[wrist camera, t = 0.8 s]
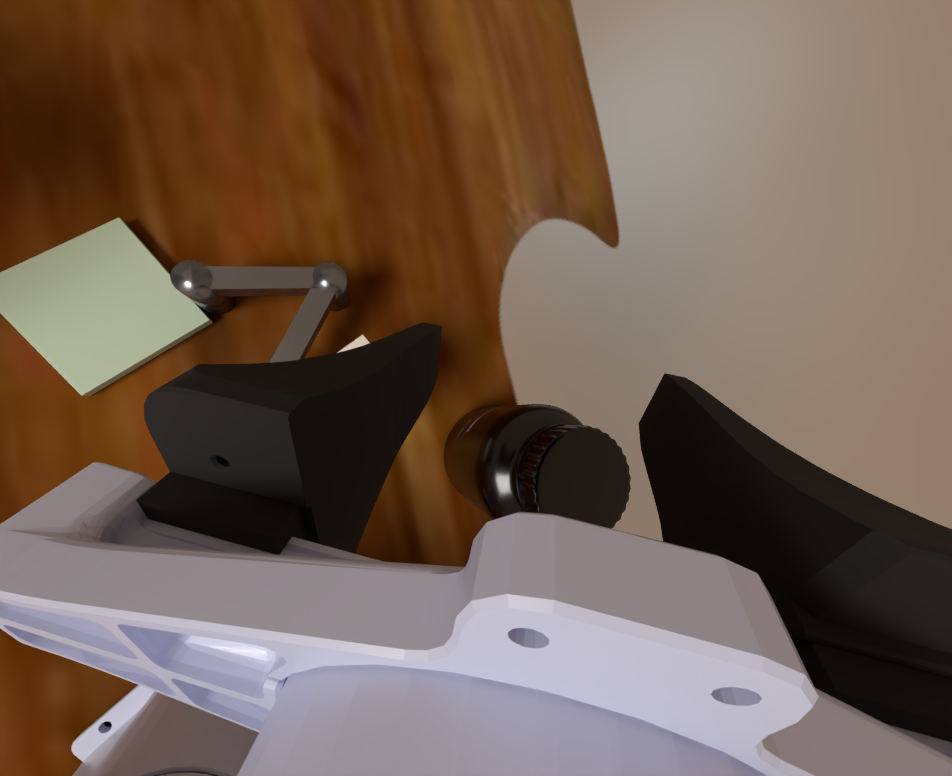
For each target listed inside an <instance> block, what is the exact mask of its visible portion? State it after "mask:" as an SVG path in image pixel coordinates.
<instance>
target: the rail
mask: <svg viewBox="0 0 952 776" xmlns="http://www.w3.org/2000/svg"><path fill="white" fill-rule="evenodd" d="M170 279H171V282H172V284H173V286H174V287H175V288H176V289H177V290H178V291H180V292H181V293H182V294H184V295H185V296H186V297H188V298H189V299H191V300H192V301H193V302H195V303H196V304H197V305H199V306H200V307H202V308H203V309H204V310H206V311H207V312H209V313H212V314H224V313H227V312H228V311H230V310H231V309H232V308H233V306H234V303H235V298H234V296H293V295H307V296H306V298H305V299H304V301H303V303H302V305H301V307H300V308H299V310H298V312H297V314H296V316H295V317H294V319H293V321H292V323H291V325H290V326H289V328H288V330H287V332H286V334H285V335H284V337H283V339H282V341H281V343H280V344H279V346H278V348H277V350H276V352H275V353H274V355H273V357H272V359H271V361H270V362H269V363H273V362H284V361H293V360H300V359H304V358H305V357H306V355H307V353H308V351H309V349H310V347H311V345H312V344H313V342H314V340H315V338H316V336H317V334H318V332H319V330H320V329H321V327H322V325H323V323H324V321H325V319H326V317H327V315H328V314H329V312H330V310H332V311H338V310H341V309H343V308H344V307H345V306H346V305H347V302H348V286H347V275H346V272H345V271H344V269H343V268H342V267H341V266H339V265H338V264H336V263H333V262H324V263H321V264H319V265H318V266H317V267H239V266H206V265H204V264H202V263H200V262H198V261H192V260H189V261H183V262H180V263H178V264H177V265H176V266H174V268H173V269H172V271H171V274H170Z"/></svg>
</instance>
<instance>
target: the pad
mask: <svg viewBox="0 0 952 776" xmlns="http://www.w3.org/2000/svg"><path fill="white" fill-rule="evenodd" d="M0 313H1V314H2V315H3V316H4V317H5V318H6V319H7V320H8V321H9V322H10V323H11V324H12V325H13V326H14V328H15V329H16V330H17V331H18V332H19V333H20V334H21V335H22V336H23V337H24V338H25V339H26V340H27V341H28V342H29V343H30V344H31V345H32V346H33V347H34V348H35V349H36V350H37V351H38V352H39V353H40V354H41V355H42V356H43V357H44V358H45V359H46V360H47V361H48V362H49V363H50V364H51V365H52V366H53V367H54V368H55V369H56V370H57V371H58V372H59V373H60V374H61V375H62V376H63V377H64V378H65V379H66V380H67V381H68V382H69V383H70V385H71V386H72V387H73V388H74V389H75V390H76V391H77V392H78V393H79V394H80V395H81V396H91V395H93V394H95V393H96V392H98V391H100V390H101V389H103V388H105V387H106V386H108V385H110V384H111V383H113V382H115V381H116V380H118V379H120V378H121V377H123V376H125V375H126V374H128V373H130V372H131V371H133V370H135V369H136V368H138V367H140V366H141V365H143V364H145V363H146V362H148V361H150V360H151V359H153V358H155V357H156V356H158V355H160V354H162V353H163V352H165V351H167V350H168V349H170V348H172V347H173V346H175V345H177V344H178V343H180V342H182V341H183V340H185V339H187V338H188V337H190V336H192V335H193V334H195V333H197V332H198V331H200V330H202V329H203V328H205V327H207V326H208V325H210V324H212V323H213V322H212V320H211V319H210V318H209V317H208V316H207V315H206V314H205V313H204V311H203V310H202V309H201V308H200V307H199V306H198V305H197V304H196V303H195V302H193V301H192V300H191V299H189V298H188V297H186V296H185V295H184V294H182V293H181V292H180V291H178V290H177V289H176V288H175V287H174V286H173V284H172V282H171V279H170V273H169V272H168V271H167V270H166V268H165V267H164V266H163V265H162V264H161V263H160V262H159V261H158V259H157V258H156V257H155V256H154V255H153V254H152V253H151V251H150V250H149V249H148V248H147V247H146V246H145V245H144V244H143V242H142V241H141V240H140V239H139V238H138V237H137V236H136V235H135V233H134V232H133V231H132V230H131V229H130V228H129V227H128V225H127V224H126V223H125V222H124V221H122V220H121V219H120V218H117V219H114V220H112V221H110V222H108V223H106V224H104V225H102V226H99V227H97V228H95V229H93V230H91V231H89V232H86V233H84V234H82V235H80V236H78V237H76V238H74V239H71V240H69V241H67V242H65V243H63V244H61V245H58V246H56V247H54V248H52V249H50V250H48V251H46V252H43V253H41V254H39V255H37V256H35V257H33V258H30V259H28V260H26V261H24V262H22V263H20V264H18V265H15V266H13V267H11V268H9V269H7V270H5V271H2V272H0Z"/></svg>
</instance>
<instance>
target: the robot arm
mask: <svg viewBox="0 0 952 776" xmlns="http://www.w3.org/2000/svg"><path fill="white" fill-rule="evenodd" d="M441 329H442V326H438V325H433V324H428V323H421V324H418V325H415V326H412V327H410V328H407V329H405V330H403V331H400V332H398V333H395V334H393V335H390V336H388V337H386V338H383V339H380V340H377V341H374V342H372V343H369V344H366V345H363V346H360V347H357V348H354V349H350V350H346V351H342V352H338V353H334V354H330V355H325V356H319V357H312V358H306V359H300V360H293V361H284V362H273V363H258V364H199V365H197V366H195V367H193V368H192V369H190V370H188V371H187V372H185V373H183V374H182V375H180V376H178V377H177V378H175V379H173V380H172V381H170V382H168V383H166V384H165V385H163V386H161V387H160V388H158V389H156V390H155V391H153V392H152V393H150V394H149V395H148V397H147V399H146V401H145V403H144V417H145V421H146V424H147V427H148V429H149V432H150V434H151V436H152V438H153V440H154V441H155V443H156V445H157V447H158V449H159V451H160V453H161V455H162V457H163V459H164V461H165V463H166V465H167V467H168V468H169V470H170V473H169V474H167V475H166V476H165V477H164V478H162V479H161V480H160V481H159V482H158V483H155V481H153V480H152V479H150V478H149V477H148V476H145V475H143V474H141V473H137V472H134V471H130V470H126V469H122V468H119V467H115V466H111V465H107V464H104V463H92V464H91V465H89V466H88V467H86V468H85V469H83V470H82V471H80V472H79V473H77V474H76V475H74V476H72V477H71V478H69V479H68V480H66V481H65V482H63V483H62V484H60V485H59V486H57V487H56V488H54V489H53V490H51V491H50V492H48V493H47V494H45V495H44V496H42V497H41V498H39V499H38V500H36V501H35V502H33V503H32V504H30V505H29V506H27V507H26V508H24V509H23V510H21V511H20V512H18V513H17V514H15V515H14V516H12V517H11V518H9V519H8V520H6V521H5V522H3V523H2V524H0V628H1V629H2V630H3V631H5V632H6V633H8V634H9V635H11V636H12V637H14V638H15V639H16V640H18V641H19V642H21V643H23V644H26V645H29V646H33V647H35V648H38V649H41V650H44V651H47V652H50V653H53V654H56V655H59V656H62V657H65V658H68V659H71V660H74V661H76V662H79V663H82V664H85V665H88V666H90V667H93V668H96V669H99V670H101V671H104V672H107V673H109V674H112V675H115V676H117V677H120V678H122V679H125V680H128V681H130V682H133V683H135V684H138V685H137V686H136V687H134V688H133V689H132V690H131V691H130V692H129V693H128V694H126V695H125V696H124V697H123V698H122V699H121V700H119V701H118V702H117V703H116V704H115V705H114V706H112V707H111V708H110V709H109V710H108V711H107V712H105V713H104V714H103V715H102V716H101V717H100V718H99V719H97V720H96V721H95V722H94V723H93V724H92V725H90V726H89V727H88V728H87V729H86V730H85V731H83V732H82V733H81V734H80V735H79V737H78V738H77V739H76V740H75V741H74V742H73V744H72V747H71V748H72V752H73V754H74V755H75V756H76V757H78V758H79V759H80V760H81V761H82V762H83V763H82V764H81V765H80V767H79V768H78V769H77V770H76V772H75V773H74V774H73V775H72V776H952V529H949V528H947V527H944V526H942V525H939V524H936V523H934V522H932V521H929V520H927V519H925V518H922V517H920V516H918V515H916V514H913V513H911V512H909V511H907V510H905V509H902V508H900V507H898V506H896V505H893V504H891V503H889V502H887V501H885V500H883V499H880V498H878V497H876V496H874V495H872V494H870V493H868V492H866V491H864V490H862V489H859V488H858V487H856V486H854V485H852V484H850V483H848V482H846V481H844V480H842V479H840V478H838V477H836V476H834V475H832V474H830V473H828V472H827V471H825V470H823V469H821V468H819V467H817V466H816V465H814V464H812V463H811V462H809V461H807V460H806V459H804V458H802V457H801V456H799V455H797V454H795V453H794V452H792V451H790V450H789V449H787V448H785V447H784V446H782V445H780V444H779V443H777V442H776V441H774V440H773V439H771V438H770V437H769V436H767V435H766V434H764V433H763V432H761V431H760V430H758V429H757V428H755V427H754V426H752V425H751V424H750V423H748V422H747V421H745V420H744V419H742V418H741V417H740V416H738V415H737V414H736V413H735V412H733V411H732V410H731V409H729V408H728V407H727V406H725V405H724V404H723V403H721V402H720V401H719V400H717V399H716V398H715V397H713V396H712V395H710V394H709V393H708V392H707V391H705V390H704V389H702V388H701V387H700V386H698V385H697V384H695V383H694V382H692V381H690V380H688V379H687V378H684V377H680V376H675V375H670V374H664V376H663V378H662V380H661V382H660V383H659V386H658V387H657V389H656V391H655V393H654V395H653V397H652V399H651V401H650V403H649V405H648V407H647V409H646V411H645V412H644V414H643V416H642V418H641V420H640V422H639V431H640V442H641V450H642V455H643V458H644V462H645V466H646V469H647V474H648V477H649V481H650V484H651V488H652V492H653V495H654V499H655V502H656V506H657V510H658V514H659V519H660V523H661V530H662V537H663V542H662V541H658V540H654V539H650V538H646V537H642V536H638V535H634V534H630V533H625V532H622V531H618V530H614V529H610V528H606V527H602V526H598V525H594V524H590V523H586V522H582V521H578V520H574V519H570V518H566V517H562V516H558V515H554V514H543V513H530V512H517V513H514V514H511V515H508V516H504V517H501V518H498V519H495V520H492V521H489V522H487V523H486V524H485V525H484V527H483V528H482V529H481V530H480V532H479V533H478V534H477V536H476V537H475V538H474V540H473V543H472V548H471V552H470V557H469V561H468V563H467V565H466V567H458V566H443V565H428V564H412V563H397V562H383V561H380V560H376V559H372V558H369V557H365V556H361V555H358V554H355V553H356V550H357V547H358V545H359V542H360V539H361V537H362V534H363V532H364V529H365V527H366V524H367V522H368V519H369V517H370V514H371V512H372V509H373V507H374V505H375V502H376V500H377V498H378V495H379V493H380V491H381V488H382V486H383V483H384V481H385V479H386V477H387V474H388V472H389V470H390V468H391V466H392V463H393V461H394V459H395V457H396V455H397V453H398V451H399V449H400V447H401V446H402V444H403V442H404V441H405V439H406V437H407V436H408V434H409V432H410V431H411V429H412V427H413V426H414V424H415V422H416V421H417V419H418V417H419V416H420V414H421V412H422V410H423V409H424V407H425V405H426V404H427V402H428V400H429V397H430V395H431V393H432V390H433V388H434V385H435V383H436V380H437V375H438V363H439V352H440V340H441ZM107 721H108V722H111V724H112V726H110V727H107V726H105V725H104V722H107Z"/></svg>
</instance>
